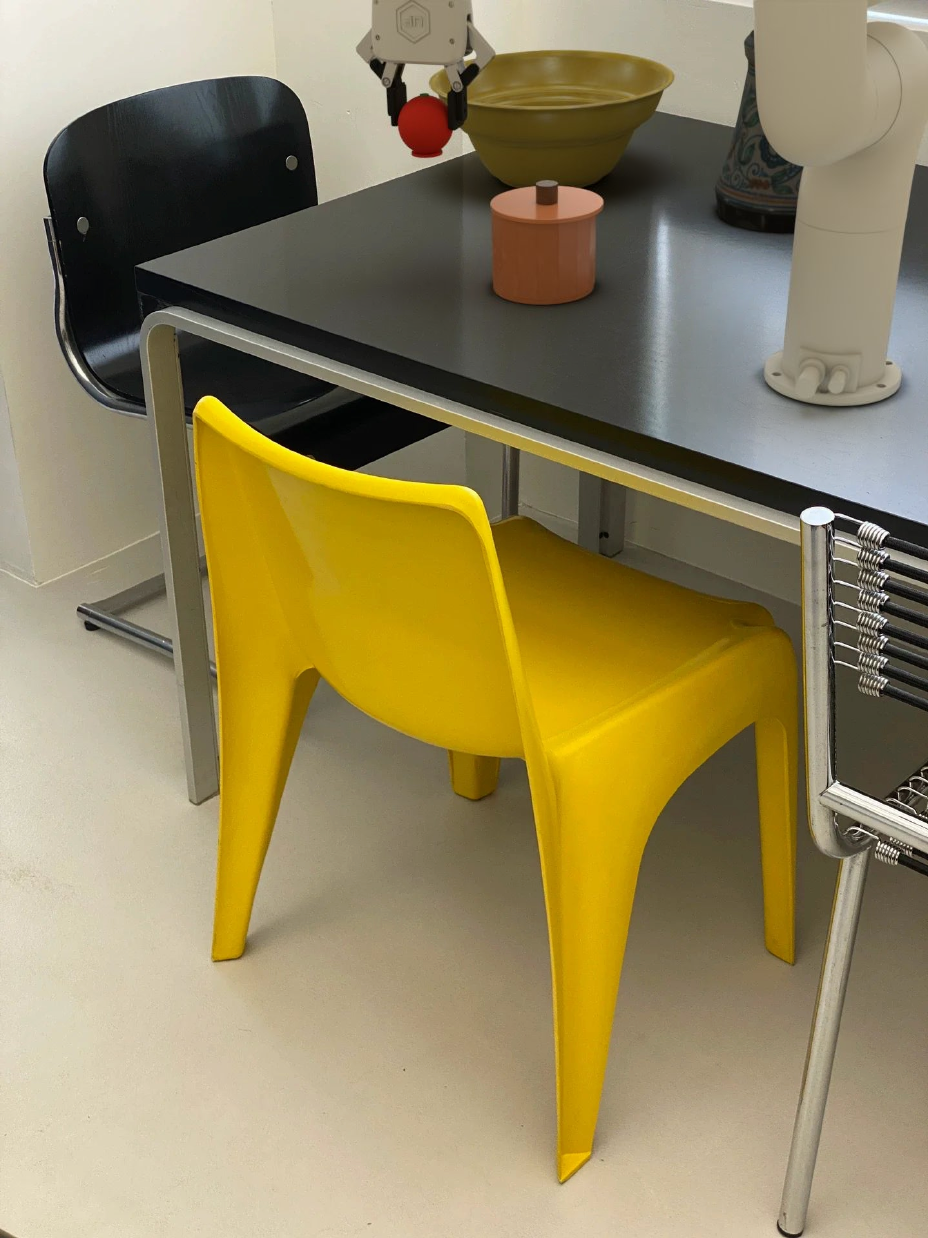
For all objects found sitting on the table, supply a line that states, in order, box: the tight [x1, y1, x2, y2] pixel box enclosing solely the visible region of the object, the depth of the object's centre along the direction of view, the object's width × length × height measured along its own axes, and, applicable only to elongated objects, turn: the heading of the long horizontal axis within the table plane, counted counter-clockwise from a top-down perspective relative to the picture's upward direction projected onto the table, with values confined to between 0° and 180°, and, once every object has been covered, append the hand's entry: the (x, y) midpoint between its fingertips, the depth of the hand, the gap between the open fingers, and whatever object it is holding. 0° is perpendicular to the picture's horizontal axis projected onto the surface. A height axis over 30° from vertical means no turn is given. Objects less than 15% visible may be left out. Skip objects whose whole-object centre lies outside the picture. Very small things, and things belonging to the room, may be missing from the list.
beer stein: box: [714, 29, 804, 234], centre depth 170 cm, size 16×19×25 cm
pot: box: [490, 210, 597, 306], centre depth 156 cm, size 11×11×9 cm
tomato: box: [397, 92, 454, 159], centre depth 153 cm, size 6×6×6 cm
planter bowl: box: [428, 49, 675, 189], centre depth 190 cm, size 32×32×13 cm
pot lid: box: [490, 180, 605, 224], centre depth 153 cm, size 12×12×3 cm
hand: (427, 123), depth 153 cm, fingers closed on tomato, 5 cm apart
